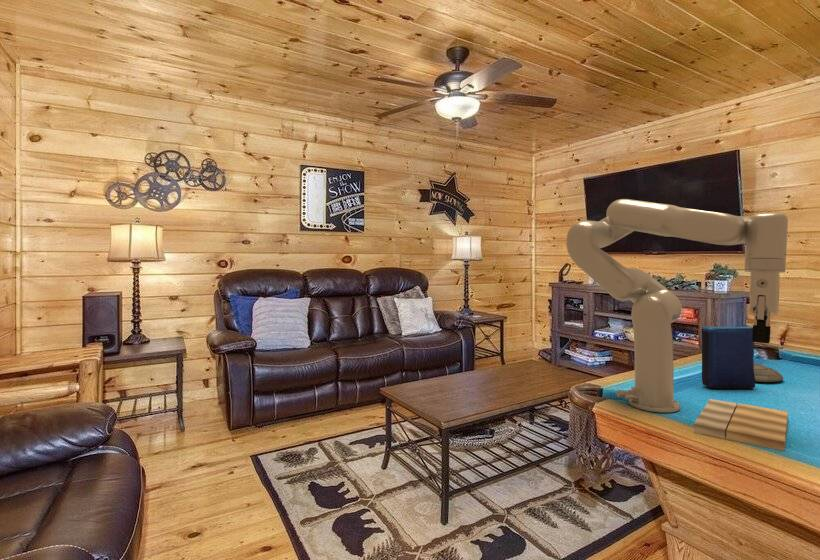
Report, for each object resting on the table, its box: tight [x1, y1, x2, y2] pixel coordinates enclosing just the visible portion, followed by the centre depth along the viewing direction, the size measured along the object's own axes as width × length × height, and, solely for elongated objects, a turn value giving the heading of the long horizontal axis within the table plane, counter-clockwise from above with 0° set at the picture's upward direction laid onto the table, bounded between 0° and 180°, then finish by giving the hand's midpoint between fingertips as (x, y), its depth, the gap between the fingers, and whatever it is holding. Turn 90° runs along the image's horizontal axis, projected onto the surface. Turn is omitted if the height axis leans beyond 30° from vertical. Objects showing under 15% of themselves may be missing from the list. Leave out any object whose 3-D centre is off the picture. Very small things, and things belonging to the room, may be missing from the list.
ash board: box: [693, 398, 738, 439], centre depth 109 cm, size 24×6×2 cm, turn 137°
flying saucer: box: [754, 362, 785, 383], centre depth 146 cm, size 15×15×6 cm
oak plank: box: [725, 403, 789, 452], centre depth 103 cm, size 24×10×2 cm, turn 137°
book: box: [701, 324, 756, 389], centre depth 135 cm, size 14×5×20 cm, turn 84°
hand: (760, 342), depth 103 cm, fingers closed
